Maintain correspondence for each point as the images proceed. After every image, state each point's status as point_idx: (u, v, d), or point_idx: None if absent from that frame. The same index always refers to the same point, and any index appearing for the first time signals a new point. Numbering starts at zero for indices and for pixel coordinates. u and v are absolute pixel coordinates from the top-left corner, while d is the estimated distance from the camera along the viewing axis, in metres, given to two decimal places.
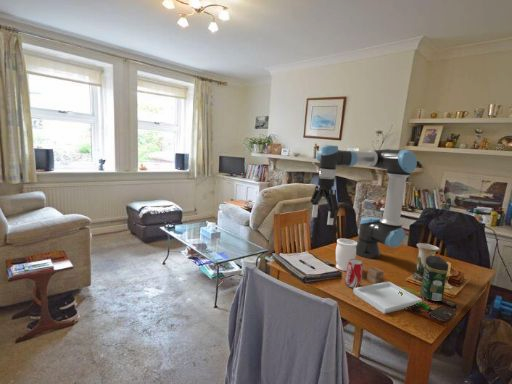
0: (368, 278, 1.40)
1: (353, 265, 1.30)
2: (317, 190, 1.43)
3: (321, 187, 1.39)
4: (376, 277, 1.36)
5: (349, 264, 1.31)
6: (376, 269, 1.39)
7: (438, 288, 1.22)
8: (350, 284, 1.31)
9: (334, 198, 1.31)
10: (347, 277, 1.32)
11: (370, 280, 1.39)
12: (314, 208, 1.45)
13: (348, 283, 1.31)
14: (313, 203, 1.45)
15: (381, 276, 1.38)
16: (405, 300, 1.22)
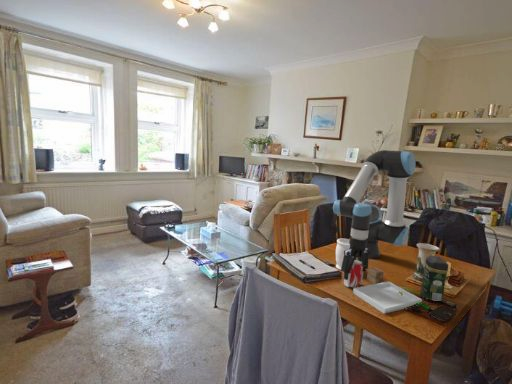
0: (368, 278, 1.40)
1: (353, 265, 1.30)
2: (364, 252, 1.34)
3: None
4: (376, 278, 1.36)
5: None
6: (376, 269, 1.39)
7: (438, 288, 1.22)
8: (350, 284, 1.31)
9: (345, 259, 1.29)
10: None
11: (370, 280, 1.39)
12: None
13: None
14: None
15: (381, 276, 1.38)
16: (405, 300, 1.22)
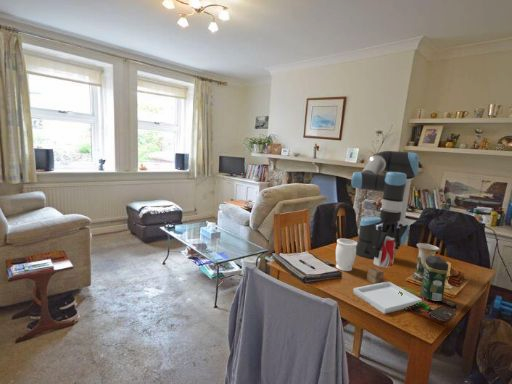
0: (368, 278, 1.40)
1: (385, 241, 1.15)
2: (396, 228, 1.19)
3: None
4: (376, 277, 1.36)
5: None
6: (376, 269, 1.39)
7: (438, 288, 1.22)
8: (381, 263, 1.16)
9: (376, 235, 1.14)
10: None
11: (370, 280, 1.39)
12: None
13: None
14: None
15: (381, 276, 1.38)
16: (405, 300, 1.22)
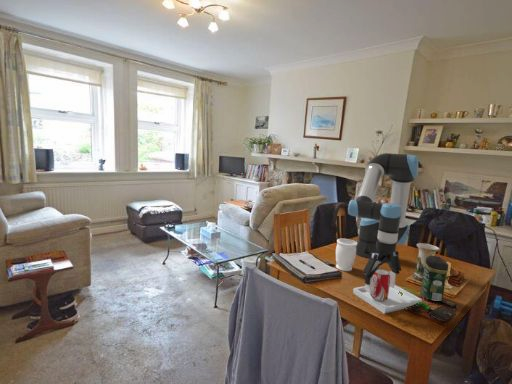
0: None
1: (379, 275, 1.18)
2: (393, 255, 1.22)
3: None
4: None
5: (375, 274, 1.20)
6: None
7: (438, 288, 1.22)
8: (376, 296, 1.19)
9: (370, 262, 1.16)
10: (373, 289, 1.20)
11: None
12: (390, 275, 1.24)
13: (374, 295, 1.20)
14: (391, 269, 1.24)
15: None
16: (405, 300, 1.22)
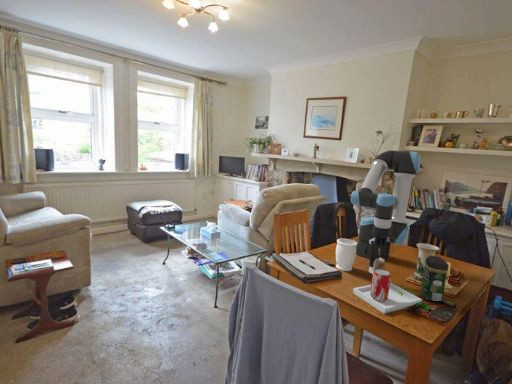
0: None
1: (379, 276, 1.18)
2: (386, 241, 1.39)
3: None
4: None
5: (375, 275, 1.19)
6: (378, 261, 1.39)
7: (438, 288, 1.22)
8: (376, 297, 1.19)
9: (370, 248, 1.35)
10: (373, 289, 1.20)
11: None
12: None
13: (374, 295, 1.20)
14: (380, 255, 1.41)
15: (383, 267, 1.37)
16: (405, 300, 1.22)
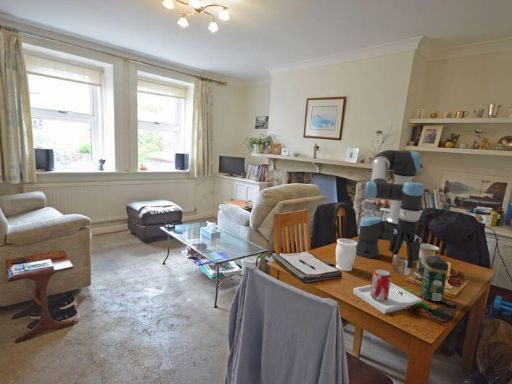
0: (403, 272, 1.20)
1: (379, 276, 1.18)
2: (394, 234, 1.25)
3: (400, 228, 1.22)
4: None
5: (375, 275, 1.19)
6: (401, 258, 1.23)
7: (438, 288, 1.22)
8: (376, 297, 1.19)
9: (418, 247, 1.16)
10: (373, 289, 1.20)
11: None
12: None
13: (374, 295, 1.20)
14: (394, 252, 1.24)
15: None
16: (405, 300, 1.22)
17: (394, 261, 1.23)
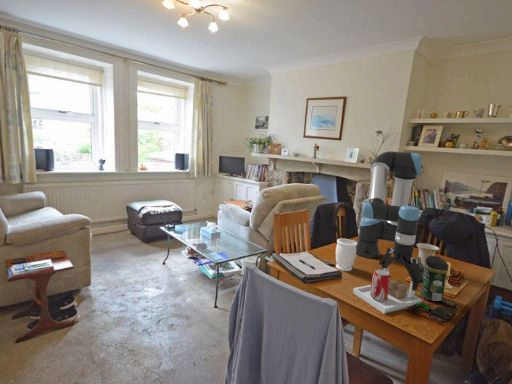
0: (399, 296, 1.22)
1: (379, 276, 1.18)
2: (389, 253, 1.28)
3: (397, 252, 1.23)
4: None
5: (375, 275, 1.19)
6: (397, 282, 1.25)
7: (438, 288, 1.22)
8: (376, 297, 1.19)
9: (418, 268, 1.16)
10: (373, 289, 1.20)
11: (401, 297, 1.23)
12: None
13: (374, 295, 1.20)
14: (384, 266, 1.30)
15: None
16: (405, 300, 1.22)
17: (390, 285, 1.25)
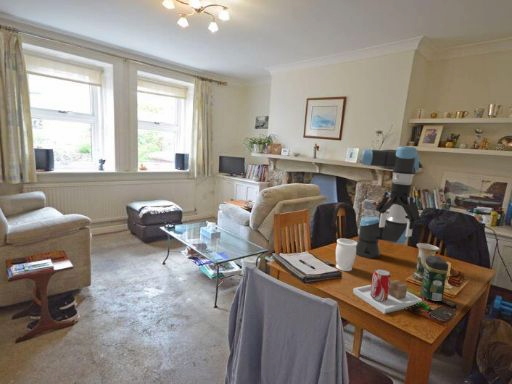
0: (399, 296, 1.22)
1: (379, 276, 1.18)
2: (387, 197, 1.27)
3: (394, 194, 1.23)
4: None
5: (375, 275, 1.19)
6: (397, 282, 1.25)
7: (438, 288, 1.22)
8: (376, 297, 1.19)
9: (415, 207, 1.16)
10: (373, 289, 1.20)
11: (401, 297, 1.23)
12: (382, 217, 1.29)
13: (374, 295, 1.20)
14: (381, 211, 1.29)
15: None
16: (405, 300, 1.22)
17: (390, 285, 1.25)
